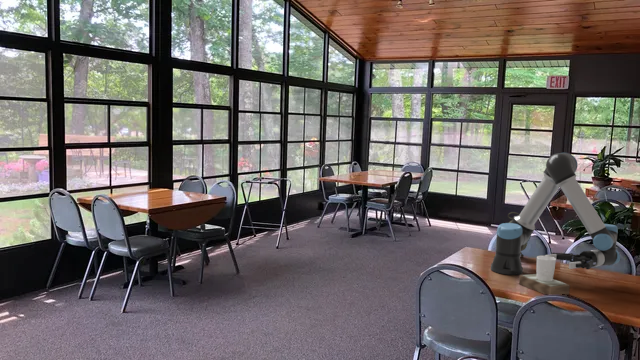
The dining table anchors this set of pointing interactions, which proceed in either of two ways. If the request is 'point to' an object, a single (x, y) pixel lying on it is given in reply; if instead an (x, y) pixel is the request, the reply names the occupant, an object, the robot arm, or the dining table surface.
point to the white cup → (545, 268)
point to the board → (544, 285)
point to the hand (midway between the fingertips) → (557, 261)
